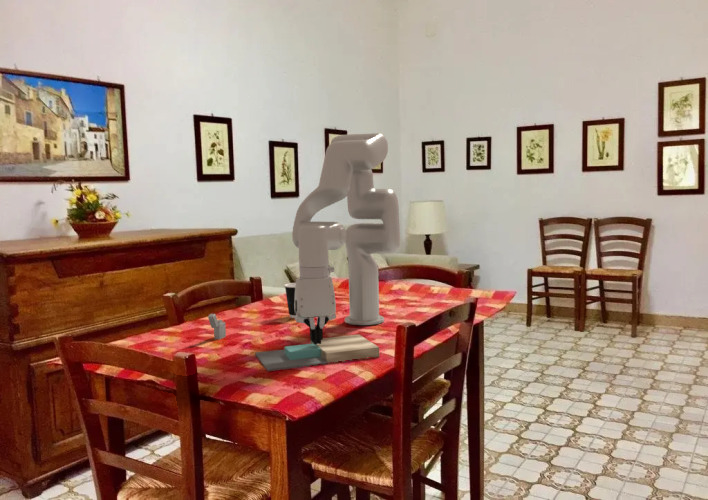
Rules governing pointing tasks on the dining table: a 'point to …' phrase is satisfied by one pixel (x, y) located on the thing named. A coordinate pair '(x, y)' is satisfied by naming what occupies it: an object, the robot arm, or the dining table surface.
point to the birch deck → (347, 348)
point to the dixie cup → (290, 298)
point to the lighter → (217, 327)
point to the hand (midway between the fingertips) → (316, 342)
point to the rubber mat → (285, 360)
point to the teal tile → (302, 351)
